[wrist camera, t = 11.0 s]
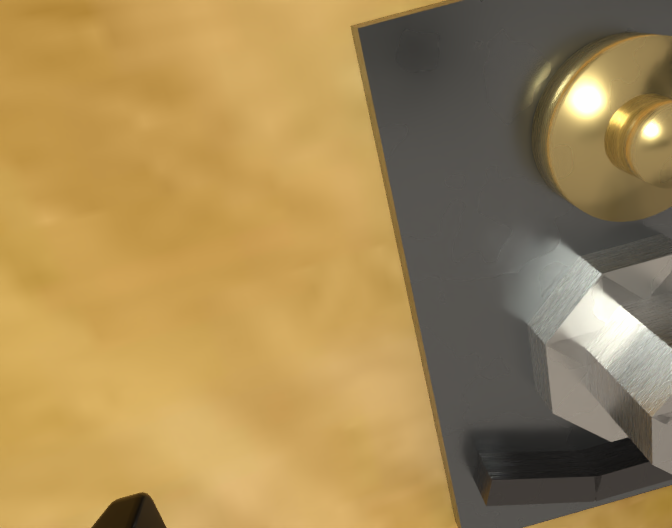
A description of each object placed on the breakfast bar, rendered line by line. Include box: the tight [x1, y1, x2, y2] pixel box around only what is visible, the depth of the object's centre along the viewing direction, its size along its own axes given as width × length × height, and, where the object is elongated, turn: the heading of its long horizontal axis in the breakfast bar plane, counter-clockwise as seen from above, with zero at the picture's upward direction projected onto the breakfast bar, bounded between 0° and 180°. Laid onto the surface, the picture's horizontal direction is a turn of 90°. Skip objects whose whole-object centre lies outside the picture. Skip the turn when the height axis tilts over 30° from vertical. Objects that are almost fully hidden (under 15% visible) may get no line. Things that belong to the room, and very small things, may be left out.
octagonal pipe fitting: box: [527, 234, 672, 474], centre depth 19 cm, size 7×7×5 cm
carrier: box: [351, 0, 672, 528], centre depth 20 cm, size 14×20×4 cm
